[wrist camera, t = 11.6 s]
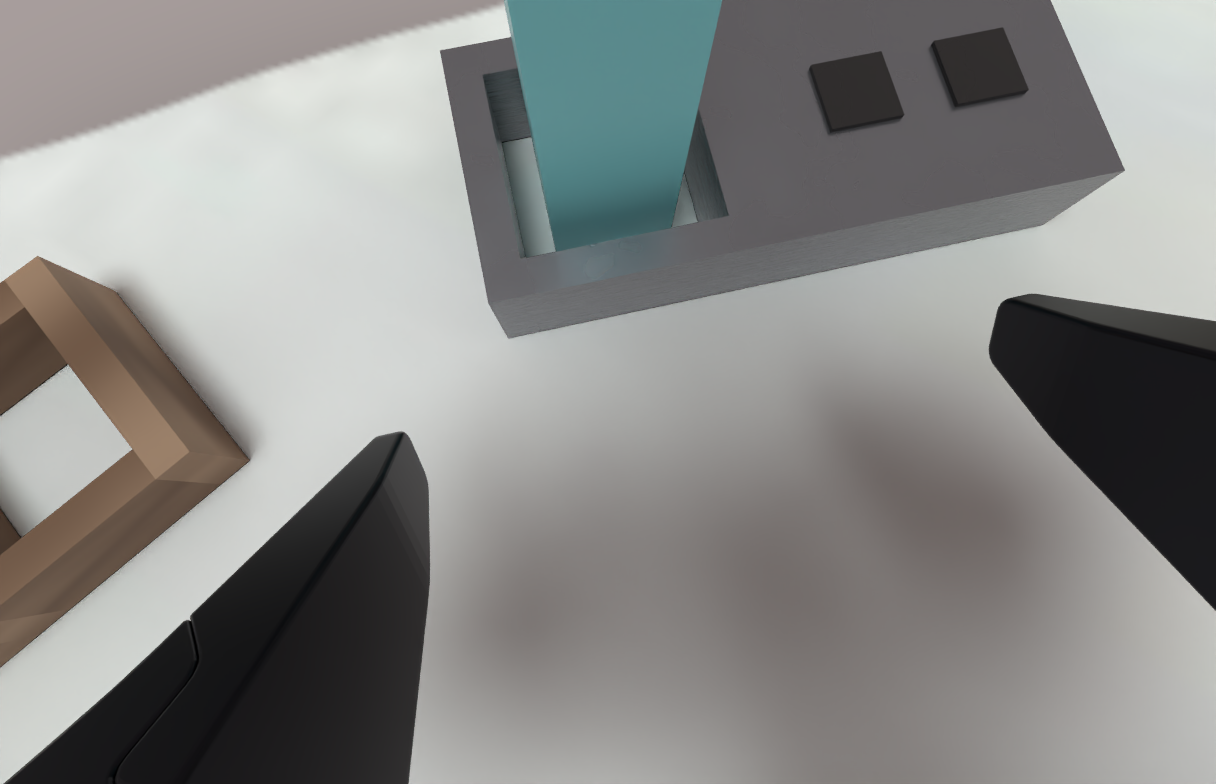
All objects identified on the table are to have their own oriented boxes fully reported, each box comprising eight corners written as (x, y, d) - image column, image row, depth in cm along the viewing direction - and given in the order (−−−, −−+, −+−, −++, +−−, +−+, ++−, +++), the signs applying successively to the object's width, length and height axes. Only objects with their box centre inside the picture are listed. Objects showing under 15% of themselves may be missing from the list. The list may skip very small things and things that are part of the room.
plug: (668, 239, 18) (804, -366, 6) (558, 262, 18) (446, -310, 6) (643, 141, 19) (714, -598, 6) (536, 162, 19) (391, -551, 6)
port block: (1043, 224, 19) (1129, 167, 15) (507, 337, 18) (487, 301, 15) (963, 24, 20) (1027, -65, 17) (465, 121, 19) (438, 46, 16)
